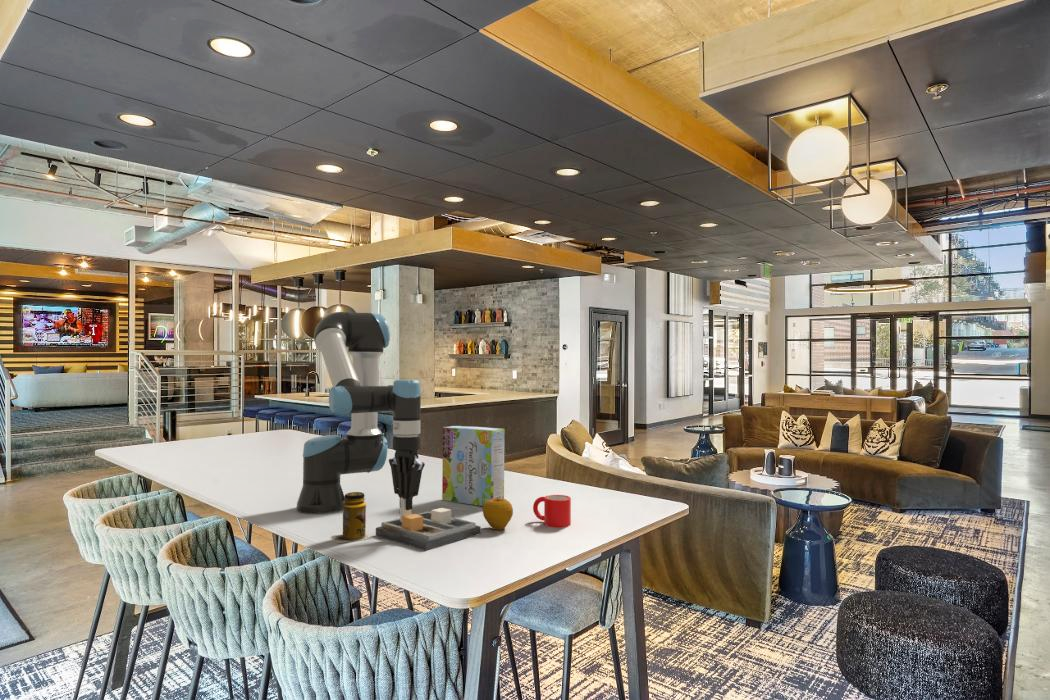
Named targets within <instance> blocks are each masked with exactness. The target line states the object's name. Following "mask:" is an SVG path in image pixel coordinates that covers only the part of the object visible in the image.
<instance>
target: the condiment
mask: <svg viewBox="0 0 1050 700" xmlns="http://www.w3.org/2000/svg"><path fill="white" fill-rule="evenodd" d="M344 497H345V500H344V502H345V503H344V505H343V509H342V534H337V535H331V538H332V539H333V540H334V541H335V542H336V543H338V544H343V543H350V542H357V541H363V540H369V539H370V537H369V536H367V535H366V517H367V516H366V510H367V504H366V502H365V497H366V495H365V493H364V492H360V491H354V492H347V493H345V495H344Z"/></svg>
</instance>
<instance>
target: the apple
mask: <svg viewBox="0 0 1050 700" xmlns="http://www.w3.org/2000/svg"><path fill="white" fill-rule="evenodd" d="M513 514H514V509H513V505H512V504H511V502H510V501H509V500H507V499H505V498H504V499H501V498H493V499H490V500H488V501H487V502H486V503H485V504H484V506H482V515H483V517H484V520H485V521H486V522H487V524H488V525H489V526H490V528H492V529H493V530H497V531H502V530H504V529H505V528H506V527H507V526H508V524H509V523H510V521H511V520H512V518H513Z"/></svg>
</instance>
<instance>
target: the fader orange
mask: <svg viewBox="0 0 1050 700" xmlns="http://www.w3.org/2000/svg"><path fill="white" fill-rule="evenodd" d="M402 527H404V528H407V529H411V530H414V531H418V530H422V529H423V516H420V515H416V513H411V515H407V516H403V517H402Z"/></svg>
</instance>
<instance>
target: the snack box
mask: <svg viewBox="0 0 1050 700" xmlns="http://www.w3.org/2000/svg"><path fill="white" fill-rule="evenodd" d="M505 430H506V429H505V428H498V427H486V426H485V427H484V426H465V425H464V426H463V425H451V426H443V427H442V474H441V475H442V480H441V481H442V482H441V483H442V485H441V487H442V492H441V494H442V495H441V499H442V501H444V502H453V503H458V504H459V503H460V504H464V505H465V504H467V505H473V506H481V507H483V506H484V504H485V503H486V502H487V501H488V500H490V499H493V498H501V499H505V437H506V436H505V433H506V431H505Z"/></svg>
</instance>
